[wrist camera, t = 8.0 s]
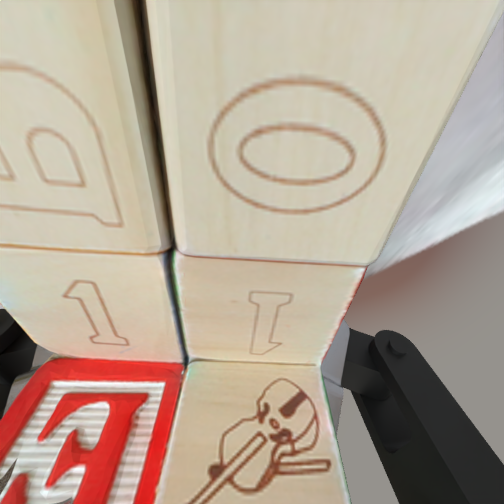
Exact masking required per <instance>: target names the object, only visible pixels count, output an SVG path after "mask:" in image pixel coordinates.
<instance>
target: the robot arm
mask: <svg viewBox="0 0 504 504" xmlns="http://www.w3.org/2000/svg"><path fill="white" fill-rule="evenodd" d="M53 353H54V352H51V351H49V350H47V349H45V348H43V347H42V346H40V345H38V344H36V343H34V341H33V340H32V339H31V338H30V337H29V336H28V334H27V333H26V332H25V331H24V330H23V329H22V327H21V326H20V325H19V324H18V323H17V322H16V321H15V319H14V318H13V317H12V316H11V315H10V314H9V313H8V312H7V311H6V309H0V420H1V419H2V417H3V416H4V415H5V413H6V412H7V410H8V409H9V407H10V406H11V404H12V403H13V401H14V400H15V398H16V397H17V395H18V394H19V393H20V391H21V390H22V389H23V388H24V387H25V385H26V384H27V383H28V381H29V380H30V379H31V377H32V376H33V375H34V374H35V372H36V371H37V370H38V369H39V368H40V367H41V366H42V365H43V364H44V363H45V362H46V361H47V360H48V359H49V358H50V357H51V356H52V355H53ZM321 371H322V375H323V379H324V383H325V387H326V391H327V395H328V400H329V404H330V409H331V413H332V418H333V422H334V427H335V432H336V436H337V430H338V424H339V418H340V412H341V405H342V399H343V387H344V388H346V389H349V390H351V392H352V395H353V397H354V399H355V401H356V404H357V406H358V409H359V411H360V413H361V416H362V418H363V420H364V423H365V425H366V427H367V430H368V432H369V434H370V437H371V439H372V441H373V444H374V446H375V448H376V450H377V453H378V455H379V457H380V460H381V462H382V464H383V466H384V469H385V471H386V474H387V476H388V478H389V481H390V483H391V485H392V488H393V490H394V492H395V495H396V497H397V499H398V502H399V504H504V465H503V463H502V462H501V461H500V459H499V458H498V457H497V455H496V454H495V453H494V451H493V450H492V449H491V447H490V446H489V445H488V443H487V442H486V440H485V439H484V438H483V437H482V435H481V434H480V433H479V431H478V430H477V428H476V427H475V426H474V424H473V423H472V422H471V420H470V419H469V418H468V416H467V415H466V414H465V412H464V411H463V410H462V408H461V407H460V406H459V404H458V403H457V402H456V400H455V399H454V398H453V396H452V395H451V394H450V392H449V391H448V390H447V388H446V387H445V386H444V384H443V383H442V382H441V380H440V379H439V377H438V376H437V375H436V374H435V372H434V371H433V369H432V368H431V367H430V365H429V364H428V363H427V362H426V360H425V359H424V357H423V356H422V355H421V353H420V352H419V351H418V349H417V348H416V347H415V345H414V344H413V343H412V342H411V341H410V340H408V339H407V338H406V337H404V336H403V335H401V334H399V333H397V332H394V331H389V330H383V331H379V332H378V333H377V334H376V335H375V337H373V336H370V335H367V334H364V333H361V332H358V331H355V330H353V329H351V328H349V327H348V325H347V323H346V321H345V320H344V319H343V321H342V323H341V325H340V327H339V329H338V332H337V334H336V336H335V338H334V340H333V342H332V344H331V346H330V348H329V350H328V352H327V355H326V357H325V359H324V360H323V362H322V365H321ZM16 461H17V459H16V460H15V462H14V463H13V464H12V466H11V467H10V468H9V470H8V471H7V472H6V474H5V475H4V476H3V477H2V478H1V479H0V495H1V493H2V491H3V490H4V488H5V486H6V485H7V483H8V481H9V479H10V478H11V475H12V472H13V470H14V467H15V464H16ZM71 499H72V497H71V498H69V499H67V500H65V501H62V502H59V503H54V504H71Z"/></svg>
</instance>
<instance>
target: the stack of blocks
mask: <svg viewBox="0 0 504 504" xmlns="http://www.w3.org/2000/svg"><path fill="white" fill-rule="evenodd" d="M503 11H504V0H0V304H1V305H2V306H3V307H4V308H5V309H6V311H7V312H8V313H9V314H10V315H11V316H12V317H13V318H14V319H15V321H16V322H17V323H18V324H19V325H20V326H21V327H22V329H23V330H24V331H25V332H26V333H27V334H28V336H29V337H30V338H31V339H32V340H33V341H34V343H36V344H38V345H40V346H42V347H43V348H45V349H47V350H49V351H51V352H54V353H53V355H52V356H51V357H50V358H49V359H48V360H47V361H46V362H45V363H44V364H43V365H42V366H41V367H40V368H39V369H38V370H37V371H36V372H35V374H34V375H33V376H32V377H31V379H30V380H29V381H28V383H27V384H26V385H25V387H24V388H23V389H22V390H21V391H20V393H19V394H18V395H17V397H16V398H15V400H14V401H13V403H12V404H11V406H10V407H9V409H8V410H7V412H6V413H5V415H4V416H3V417H2V419H1V420H0V479H1V478H2V477H3V476H4V475H5V474H6V472H7V471H8V470H9V468H10V467H11V466H12V464H13V463H14V462H15V460H16V459H17V461H16V464H15V467H14V470H13V472H12V475H11V478H10V479H9V481H8V483H7V485H6V486H5V488H4V490H3V491H2V493H1V495H0V504H54V503H59V502H62V501H65V500H67V499H69V498H71V497H72V499H71V504H352V503H351V499H350V495H349V490H348V485H347V481H346V477H345V472H344V468H343V463H342V459H341V455H340V450H339V445H338V441H337V436H336V432H335V427H334V422H333V418H332V413H331V409H330V404H329V400H328V395H327V391H326V387H325V383H324V379H323V375H322V371H321V365H322V362H323V360H324V359H325V357H326V355H327V352H328V350H329V348H330V346H331V344H332V342H333V340H334V338H335V336H336V334H337V332H338V329H339V327H340V325H341V323H342V321H343V319H344V317H345V315H346V313H347V311H348V309H349V307H350V305H351V302H352V300H353V298H354V296H355V294H356V292H357V290H358V288H359V286H360V284H361V282H362V280H363V278H364V275H365V272H366V270H367V267H368V266H369V265H370V264H372V263H373V262H375V261H376V260H377V259H378V257H379V256H380V254H381V252H382V250H383V248H384V247H385V245H386V243H387V241H388V239H389V237H390V235H391V233H392V231H393V229H394V227H395V225H396V223H397V221H398V219H399V217H400V215H401V213H402V211H403V209H404V207H405V205H406V203H407V201H408V199H409V197H410V195H411V193H412V191H413V189H414V187H415V185H416V184H417V182H418V180H419V178H420V176H421V174H422V172H423V170H424V168H425V166H426V164H427V162H428V160H429V158H430V156H431V154H432V152H433V150H434V148H435V146H436V144H437V142H438V140H439V138H440V136H441V134H442V132H443V130H444V128H445V126H446V124H447V122H448V120H449V118H450V116H451V114H452V112H453V110H454V108H455V106H456V105H457V103H458V101H459V99H460V97H461V95H462V93H463V91H464V89H465V87H466V85H467V83H468V81H469V79H470V77H471V75H472V73H473V71H474V69H475V67H476V65H477V63H478V61H479V59H480V57H481V55H482V53H483V51H484V49H485V47H486V45H487V43H488V41H489V39H490V37H491V35H492V33H493V31H494V29H495V27H496V25H497V23H498V21H499V19H500V17H501V15H502V13H503Z"/></svg>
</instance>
